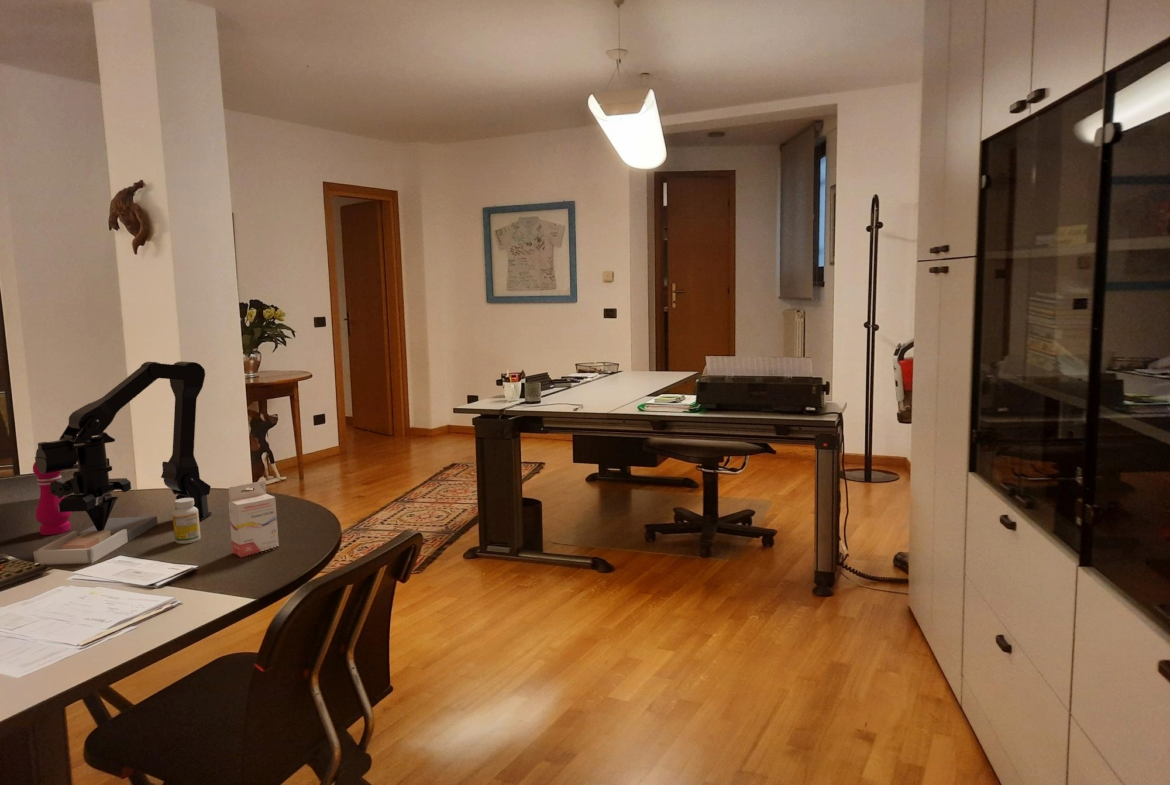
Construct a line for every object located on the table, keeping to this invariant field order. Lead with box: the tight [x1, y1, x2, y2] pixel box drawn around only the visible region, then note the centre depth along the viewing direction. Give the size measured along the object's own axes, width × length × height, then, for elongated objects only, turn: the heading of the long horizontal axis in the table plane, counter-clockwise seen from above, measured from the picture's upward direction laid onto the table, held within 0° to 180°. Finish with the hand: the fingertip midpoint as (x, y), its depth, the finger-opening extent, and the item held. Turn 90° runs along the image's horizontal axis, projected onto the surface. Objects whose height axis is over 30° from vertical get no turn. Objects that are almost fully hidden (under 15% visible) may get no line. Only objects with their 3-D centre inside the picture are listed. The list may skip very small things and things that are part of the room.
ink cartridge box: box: [228, 480, 280, 558], centre depth 173 cm, size 9×5×15 cm, turn 135°
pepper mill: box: [32, 462, 72, 536], centre depth 192 cm, size 7×7×20 cm
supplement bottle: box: [171, 498, 202, 545], centre depth 182 cm, size 5×5×10 cm
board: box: [77, 515, 159, 542], centre depth 190 cm, size 12×13×2 cm
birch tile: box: [75, 531, 111, 543], centre depth 180 cm, size 5×5×2 cm
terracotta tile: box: [62, 537, 99, 549], centre depth 175 cm, size 5×5×2 cm
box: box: [32, 529, 129, 566], centre depth 176 cm, size 12×14×3 cm
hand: (100, 530), depth 183 cm, fingers closed
